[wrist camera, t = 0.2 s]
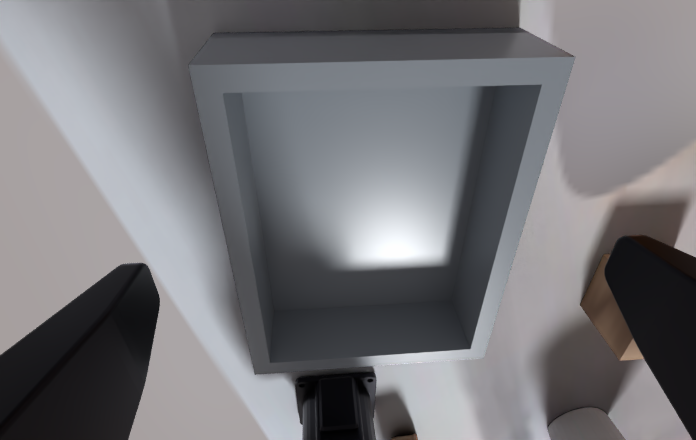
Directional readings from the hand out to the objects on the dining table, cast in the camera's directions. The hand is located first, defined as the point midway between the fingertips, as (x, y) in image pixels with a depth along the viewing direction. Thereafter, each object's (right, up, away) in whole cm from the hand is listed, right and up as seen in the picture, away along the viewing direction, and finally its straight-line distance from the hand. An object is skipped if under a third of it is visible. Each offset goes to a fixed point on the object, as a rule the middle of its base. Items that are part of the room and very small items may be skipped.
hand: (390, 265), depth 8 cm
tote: (0, +2, +16) cm, 16 cm away
